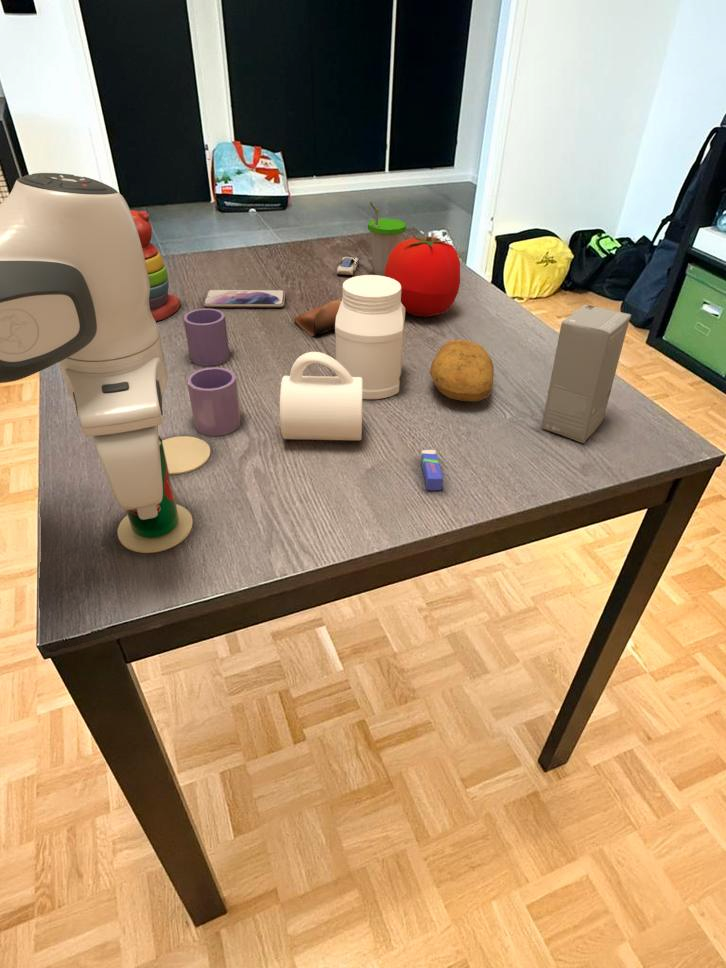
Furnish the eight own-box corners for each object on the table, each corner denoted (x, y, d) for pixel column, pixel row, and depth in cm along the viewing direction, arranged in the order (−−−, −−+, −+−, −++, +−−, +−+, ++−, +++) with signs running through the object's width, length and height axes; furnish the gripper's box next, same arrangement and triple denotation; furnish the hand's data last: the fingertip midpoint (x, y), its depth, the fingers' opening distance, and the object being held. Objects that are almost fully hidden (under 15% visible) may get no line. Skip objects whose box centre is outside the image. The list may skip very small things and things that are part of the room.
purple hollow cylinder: (193, 368, 98) (186, 326, 93) (188, 351, 102) (181, 310, 98) (232, 363, 99) (227, 321, 95) (225, 346, 104) (220, 306, 100)
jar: (397, 402, 91) (404, 303, 82) (332, 397, 92) (332, 299, 82) (402, 365, 100) (408, 272, 91) (343, 361, 101) (343, 268, 91)
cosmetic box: (583, 445, 83) (616, 335, 73) (534, 427, 87) (559, 319, 77) (605, 419, 89) (638, 313, 79) (558, 402, 92) (584, 299, 82)
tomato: (455, 329, 111) (465, 252, 103) (379, 324, 112) (382, 246, 104) (456, 296, 123) (465, 224, 115) (387, 291, 124) (391, 220, 116)
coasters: (119, 560, 65) (119, 558, 65) (111, 449, 80) (111, 447, 80) (234, 535, 68) (234, 533, 68) (205, 433, 84) (205, 431, 83)
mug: (361, 452, 81) (363, 370, 73) (281, 451, 81) (275, 368, 73) (361, 418, 87) (363, 339, 80) (287, 417, 87) (283, 337, 80)
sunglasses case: (370, 297, 120) (382, 273, 115) (388, 326, 119) (401, 303, 113) (290, 319, 112) (298, 294, 106) (309, 350, 110) (318, 327, 105)
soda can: (122, 535, 67) (95, 444, 60) (148, 506, 71) (126, 418, 64) (164, 546, 66) (141, 454, 59) (188, 516, 70) (169, 427, 63)
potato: (424, 409, 90) (428, 366, 85) (432, 368, 100) (436, 327, 95) (489, 416, 89) (496, 373, 84) (490, 374, 98) (497, 333, 94)
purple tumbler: (198, 439, 82) (190, 393, 78) (192, 415, 87) (184, 370, 83) (244, 431, 84) (239, 386, 80) (236, 408, 89) (230, 364, 84)
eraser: (435, 461, 80) (436, 449, 78) (441, 491, 75) (443, 478, 74) (419, 462, 80) (421, 449, 78) (425, 491, 75) (427, 478, 74)
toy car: (361, 259, 139) (361, 247, 137) (352, 278, 130) (352, 265, 128) (345, 258, 139) (345, 246, 138) (335, 276, 130) (335, 264, 129)
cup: (401, 268, 135) (405, 194, 126) (405, 281, 129) (410, 204, 120) (365, 268, 135) (367, 193, 125) (367, 281, 129) (369, 204, 119)
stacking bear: (182, 301, 118) (165, 202, 107) (173, 323, 110) (154, 219, 99) (124, 301, 118) (101, 201, 106) (111, 324, 110) (85, 218, 99)
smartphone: (283, 304, 116) (202, 304, 115) (284, 308, 117) (203, 308, 116) (285, 289, 121) (208, 289, 121) (285, 293, 122) (208, 293, 121)
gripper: (78, 325, 63) (109, 438, 72) (78, 432, 48) (117, 557, 57) (142, 318, 65) (165, 428, 74) (162, 419, 50) (187, 542, 59)
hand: (144, 486), depth 65 cm, fingers open, 8 cm apart
